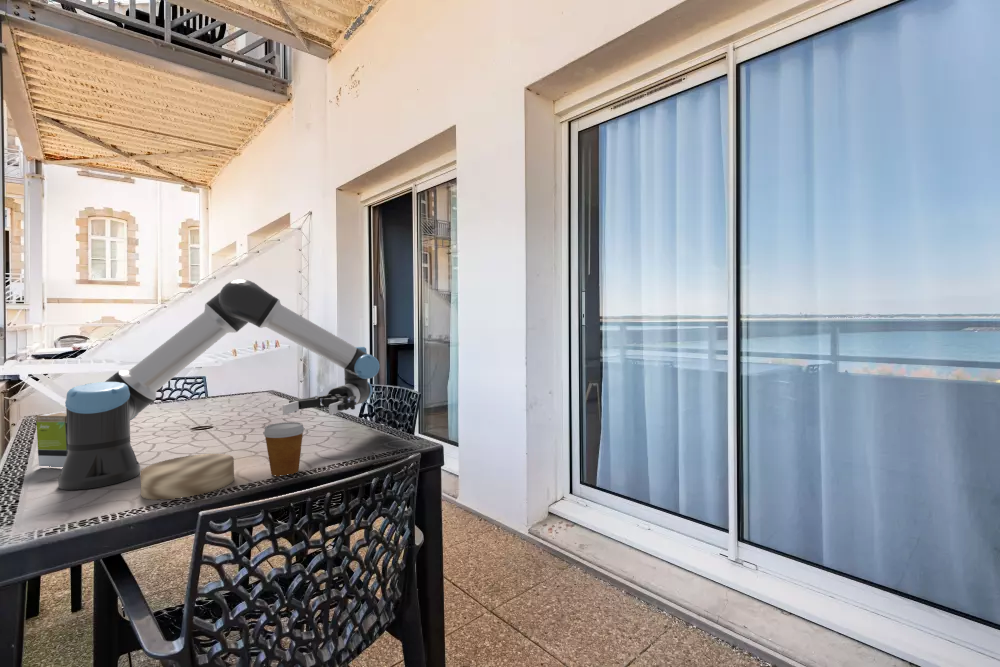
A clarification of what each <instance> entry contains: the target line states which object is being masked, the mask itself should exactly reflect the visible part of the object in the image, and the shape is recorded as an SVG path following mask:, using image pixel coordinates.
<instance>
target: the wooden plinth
mask: <svg viewBox="0 0 1000 667" xmlns="http://www.w3.org/2000/svg"><path fill="white" fill-rule="evenodd" d="M234 463H235V458H234V456H233V455H231V454H225V453H204V454H202V453H201V454H193V455H186V456H180V457H175V458H170V459H166V460H162V461H158V462H156V463H153V464H150V465H148V466H145V467H144V468H142V469H140V474H139V475H140V495H141V497H142V498H143V497H144V498H143V499H146V500H150V499H151V500H152V501H158V500H157V499H171V500H176V499H175V498H180V499H182V498H181V497H187V498H191V497H190V496H192V497H195V496H194V495H197V496H200V495H199V494H201V495H204V493H205V494H209V493H212V492H215V491H218V490H220V488H221V489H223V488H225V487H227V486H229V485H230V484H232V483H233V482H234V481H235V464H234ZM222 487H223V488H222ZM217 489H218V490H217ZM214 490H215V491H214ZM211 491H212V492H211ZM208 492H209V493H208Z"/></svg>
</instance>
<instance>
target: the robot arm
mask: <svg viewBox="0 0 1000 667" xmlns="http://www.w3.org/2000/svg"><path fill="white" fill-rule="evenodd" d="M249 323H250V324H252V325H254V326H256V327H258V328H259V329H262V328H267V329H269V330H271V331H273V332H274V333H276V334H278V335H280V336H282V337H284V338H286V339H287V340H290V341H292V342H293V343H295V344H298V345H299V346H301V347H303V348H305V349H306V350H309V351H310V352H312V353H315V354H316V355H318V356H320V357H321V358H323V359H325V360H327V361H329V362H331V363H332V364H334V365H336V366H338V367H340V368H342V369H344V371H343V372H344V384H343V385H340V386H336V387H334V388H331V389H330V390H329V391H328V393H327V394H325V395H315V396H311V397H305V398H298V399H294V400H293V399H292V400H288V403H285V404H282V416H286V415H289V414H292V413H298V411H300V410H304V409H305V410H306V409H311V408H318V409H324V408H327V409H328V415H329V416H333V415H335V414H337V413H340V412H342V411H344V410H345V411H347V410H356V406H357V405H359V404H363V403H365V402H366V401H368V400H369V399H370V398H371V397H372V395H373V386H372V384H371V383H370V382H369V379H373V378H374V377H376V376H377V375H378V374H379V371H380V366H381V365H380V362H379V360H378V359H377V357H375V356H373V354H369V353H367V352H368V350H367V347H365V346H355V345H352V344H351V343H349V342H348V341H345V340H344V339H342V338H340V337H338V336H337V335H335V334H334V333H332V332H329V331H328V330H326V329H324V328H323V327H321V326H319V325H318V324H315V323H314V322H312V321H310V320H309V319H307V318H305V317H304V316H302V315H300V314H298V313H296V311H295V312H294V311H293V310H291V309H289V308H288V307H286V306H284V305H282V304H281V300H280V299H279V298H277V297H275V296H274V295H272V294H271V293H269V292H268V291H266V290H265V289H264V288H262V287H261V286H259V285H258V284H257V283H255V282H253V281H251V280H248V279H243V278H242V279H234V280H231V281H229V282H228V283H226V284H225V285H224V286H223V287H222V288H221V290H220V292H219V293H217V294H216V295H215V296H213V297H212V298H211V299H209V300H208V301H207V302H205V303H204V311H203V312H202V313H200V314H199V315H198V316H196V318H194V319H193V320H192V321H191V322H189V323H188V324H186V325H185V326H184V327H182V329H180V330H179V331H178V332H176V333H175V334H173V336H171V337H170V338H169V339H167V340H166V341H165V342H163V343H162V344H161V345H160V346H158V347H157V348H156V349H155V350H153V351H151V353H150V354H148V355H147V356H146V357H144V358H143V359H142V360H140V361H139V362H138V363H137V364H135V365H134V366H133V367H132V368H130V369H125V370H124V369H122V370H121V369H120V370H118V371H117V372H116V373H114V374H113V375H112V376H110V377H109V378H108V379H106V380H105V381H101V382H92V383H91V382H90V383H85V384H80V385H76V386H74V387H72V388H70V389H69V390H68V391H67V393H66V396H65V397H66V400H65V401H64V402H65V408H66V413H67V443H68V454H67V457H66V459H65V462H64V465H63V468H62V469H61V472H60V474H59V476H58V481H57V482H58V485H57V486H58V488H59V489H60V490H65V491H66V490H69V491H76V490H77V491H78V490H87V489H94V488H100V487H101V488H102V487H106V486H111V485H115V484H119V483H122V482H123V483H124V482H125V481H130V480H131V479H134V478H136V477H137V476H139V475H141V474H140V472H141V466H140V462H139V461H138V460H137V456H136V454H135V450H134V449H133V447H132V443H131V421H132V420H134V419H135V418H136V417H137V416H138V415H139V414H140V413H141V412H142V411H143V410H145V409H146V408H147V407H148V406H150V405H151V403H153V402H154V401H156V399H157V391H158V390H160V389H161V388H162V387H163V386H164V385H166V384H167V383H168V382H170V380H172V379H173V378H175V377H176V375H178V374H180V372H181V371H183V370H184V369H185V368H186V367H188V366H190V364H192V363H193V362H194V361H195V360H196V359H198V358H199V357H200V356H201V355H202V354H203V353H205V352H206V351H207V350H209V349H210V348H211V347H212V346H213V345H214V344H216V343H217V342H218V341H219V340H221V338H223V337H224V336H226V335H227V334H228V333H229V334H230V333H238V332H239V331H240V330H241V329H243V328H244V327H245V326H247V325H248V324H249Z"/></svg>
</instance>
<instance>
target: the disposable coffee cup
mask: <svg viewBox="0 0 1000 667" xmlns="http://www.w3.org/2000/svg"><path fill="white" fill-rule="evenodd" d="M304 432H305V428H304V424H303V423H302V422H299V421H287V422H277V423H272V424H269V425H266V426H264V431H263V432H262V433H263V435H264V437H265V443H266V448H267V455H268V461H269V462H268V463H269V468H270V474H272V475H276V476H275V477H279V476H280V475H287V474H292V475H295V474H297V473H298V472H300V471H299V470H300V461H301V454H302V453H301V452H302V444H303V434H304ZM296 472H297V473H296ZM294 473H295V474H294ZM272 475H271V476H272ZM280 477H281V476H280Z"/></svg>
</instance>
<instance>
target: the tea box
mask: <svg viewBox="0 0 1000 667" xmlns="http://www.w3.org/2000/svg"><path fill="white" fill-rule="evenodd" d="M35 419H36V420H35V421H36V424H35V425H36V436H37V437H36V438H37V439H36V440H37V454H38V455H37V456H38V457H37V458H38V467H39V466H49V467H50V466H51V467H63V465H64V462H65V459H66V457H67V454H68V443H67V413H66V410H62V411H53V412H50V413H44V414H38V415H36V416H35Z"/></svg>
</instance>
